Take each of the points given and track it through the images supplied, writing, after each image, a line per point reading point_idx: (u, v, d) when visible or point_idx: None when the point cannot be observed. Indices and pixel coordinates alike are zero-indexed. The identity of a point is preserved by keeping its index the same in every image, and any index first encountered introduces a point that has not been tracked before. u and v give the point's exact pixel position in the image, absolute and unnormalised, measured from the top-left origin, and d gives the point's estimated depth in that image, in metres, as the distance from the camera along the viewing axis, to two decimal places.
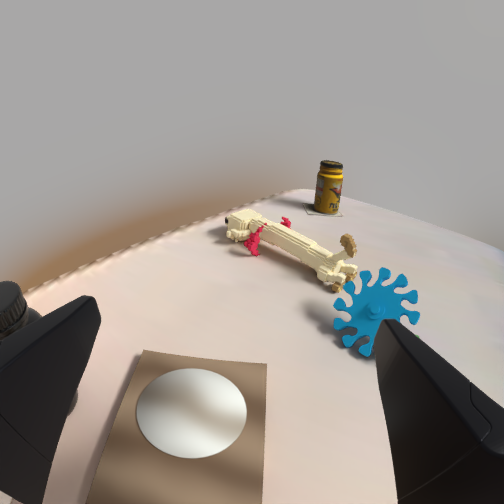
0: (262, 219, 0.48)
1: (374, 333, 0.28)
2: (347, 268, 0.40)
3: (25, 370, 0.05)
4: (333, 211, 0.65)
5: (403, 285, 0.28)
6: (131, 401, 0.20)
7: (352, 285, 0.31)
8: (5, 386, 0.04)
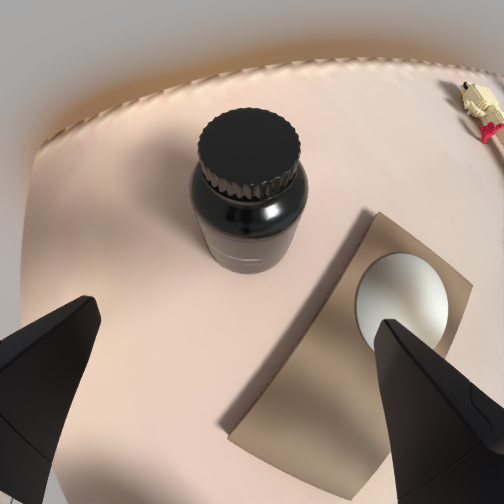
0: (502, 113, 0.25)
1: None
2: None
3: (25, 370, 0.05)
4: None
5: None
6: (355, 275, 0.22)
7: None
8: (5, 386, 0.04)
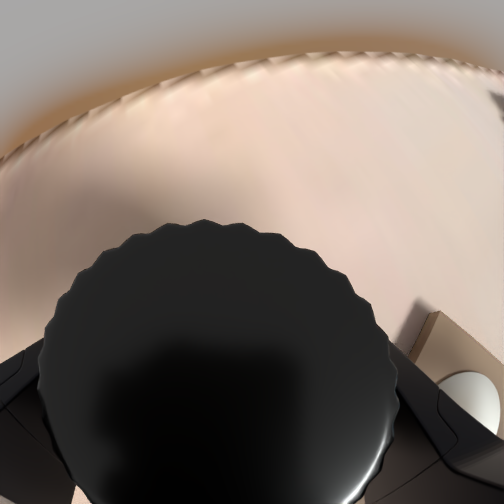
0: None
1: None
2: None
3: None
4: None
5: None
6: None
7: None
8: (32, 400, 0.04)
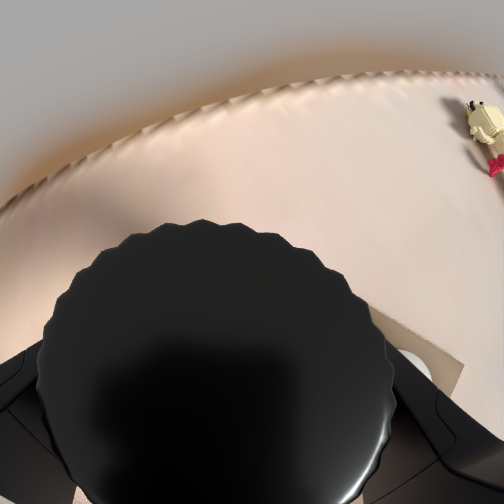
0: None
1: None
2: None
3: None
4: None
5: None
6: None
7: None
8: (33, 401, 0.04)
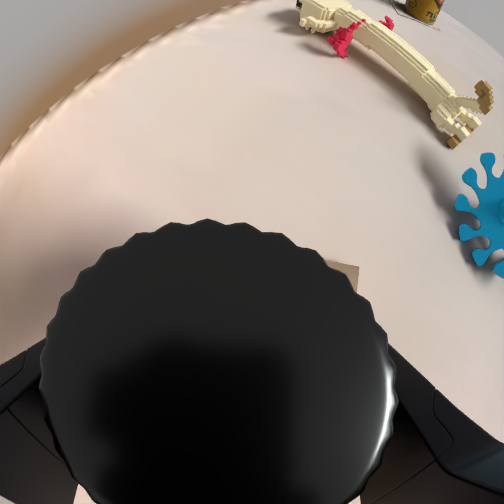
0: (355, 12, 0.21)
1: (497, 242, 0.16)
2: (468, 119, 0.20)
3: None
4: (430, 21, 0.29)
5: None
6: None
7: (493, 161, 0.15)
8: (34, 401, 0.04)
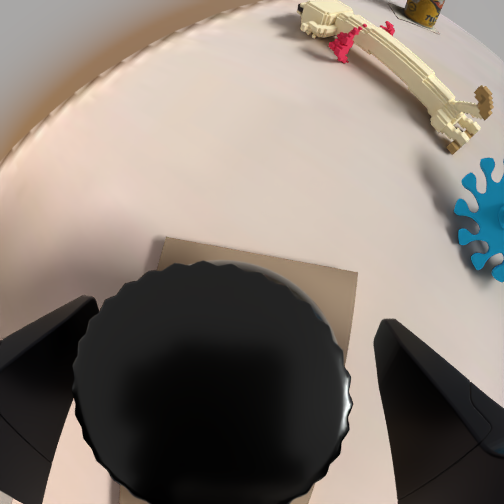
0: (356, 17, 0.21)
1: (496, 246, 0.16)
2: (468, 124, 0.20)
3: (25, 370, 0.05)
4: (429, 25, 0.29)
5: None
6: None
7: (492, 166, 0.16)
8: (5, 386, 0.04)
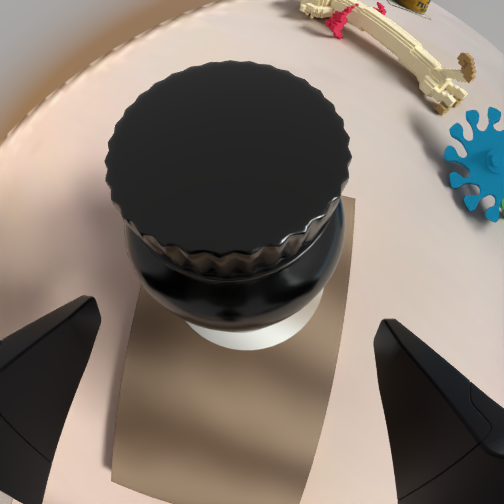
0: None
1: (487, 188, 0.17)
2: (455, 90, 0.21)
3: (25, 370, 0.05)
4: (420, 11, 0.30)
5: None
6: None
7: (477, 117, 0.17)
8: (5, 386, 0.04)
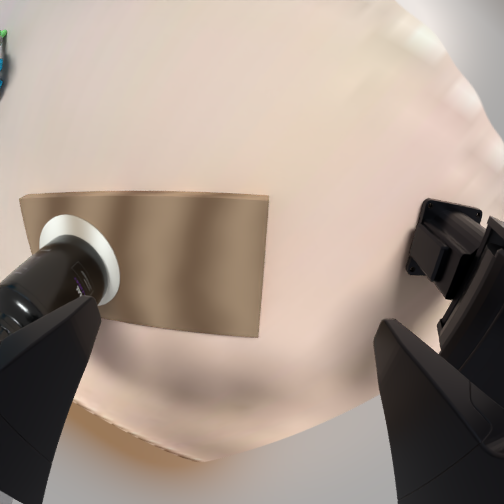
0: None
1: None
2: None
3: (25, 371, 0.05)
4: None
5: None
6: None
7: None
8: (5, 386, 0.04)
